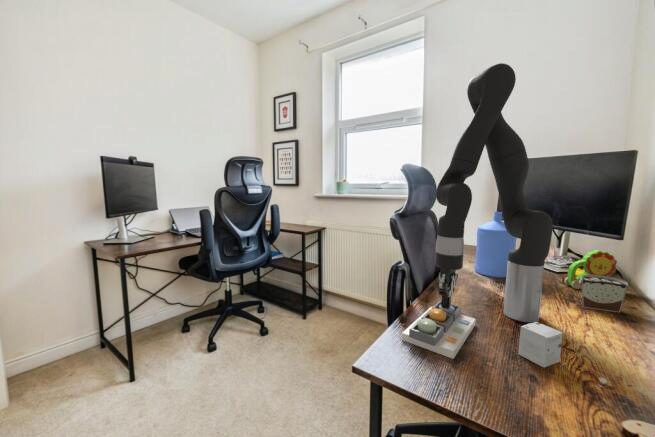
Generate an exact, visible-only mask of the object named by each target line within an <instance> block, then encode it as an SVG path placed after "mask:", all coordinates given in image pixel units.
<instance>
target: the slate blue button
mask: <svg viewBox="0 0 655 437" xmlns="http://www.w3.org/2000/svg"><path fill="white" fill-rule="evenodd" d="M439 309H441V310H444V311H448V312H452V313H454V312H455V308H454V307H453V306H451V305H450V308H449V309H446V308H442V307H441V305H439Z"/></svg>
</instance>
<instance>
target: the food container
mask: <svg viewBox="0 0 655 437" xmlns="http://www.w3.org/2000/svg"><path fill="white" fill-rule="evenodd" d="M579 283H581V284H582V288H581V307H582V308H586V309H593V310H599V311H606V312H613V313H621V311H622V306H623V302H624V299H625V297H626V293H627V290H630V284H629V283H628V282H627V281H625V280H622V279H619V278H615V277H611V276H607V277H606V276H599V275H583V276H582V277H581V278H580V281H579Z"/></svg>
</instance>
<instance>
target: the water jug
mask: <svg viewBox="0 0 655 437" xmlns="http://www.w3.org/2000/svg"><path fill="white" fill-rule="evenodd" d="M502 219H503V213H502V211H494V212H493V220H492V221H490V222H489V221H488V222H487V223H484V224H481V225H478V227H477V230H476V248H475V250H476V251H475V262H474V270H475V273H478V274H480V275H482V276H486V277H491V278H497V279H499V278H501V279H502V278H503V279H504V278H505V279H506V275H507V263H508V254H509V252H510V251H511V250H516V247H517V246H516V245H517V239H518V238H516V237H513V236H511V235H510V234H509V233H508V232H507V230H506V228H505V224H504V221H502Z"/></svg>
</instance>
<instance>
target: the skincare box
mask: <svg viewBox="0 0 655 437" xmlns="http://www.w3.org/2000/svg"><path fill="white" fill-rule="evenodd" d="M519 333H520V334H519V341H518V342H519V343H518V344H519V345H518V353H517V354H518V355H520V356H521V357H523V358H525V359H527V360H529V361H531V362H532V363H534V364H536V365H537V366H540V367H541V368H543V369H544V368H547V367H549V366H553V365H554V364H558V363H559V362H560V361H561V354H562V343H563V334H564V333H563V331H560V330H559V329H556V328H553V327H550V326H548V325H546V324H543V323H541V322H539V321H538V322H534V323H533V322H528V323H527V324H523V325H521V326H520V332H519Z"/></svg>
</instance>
